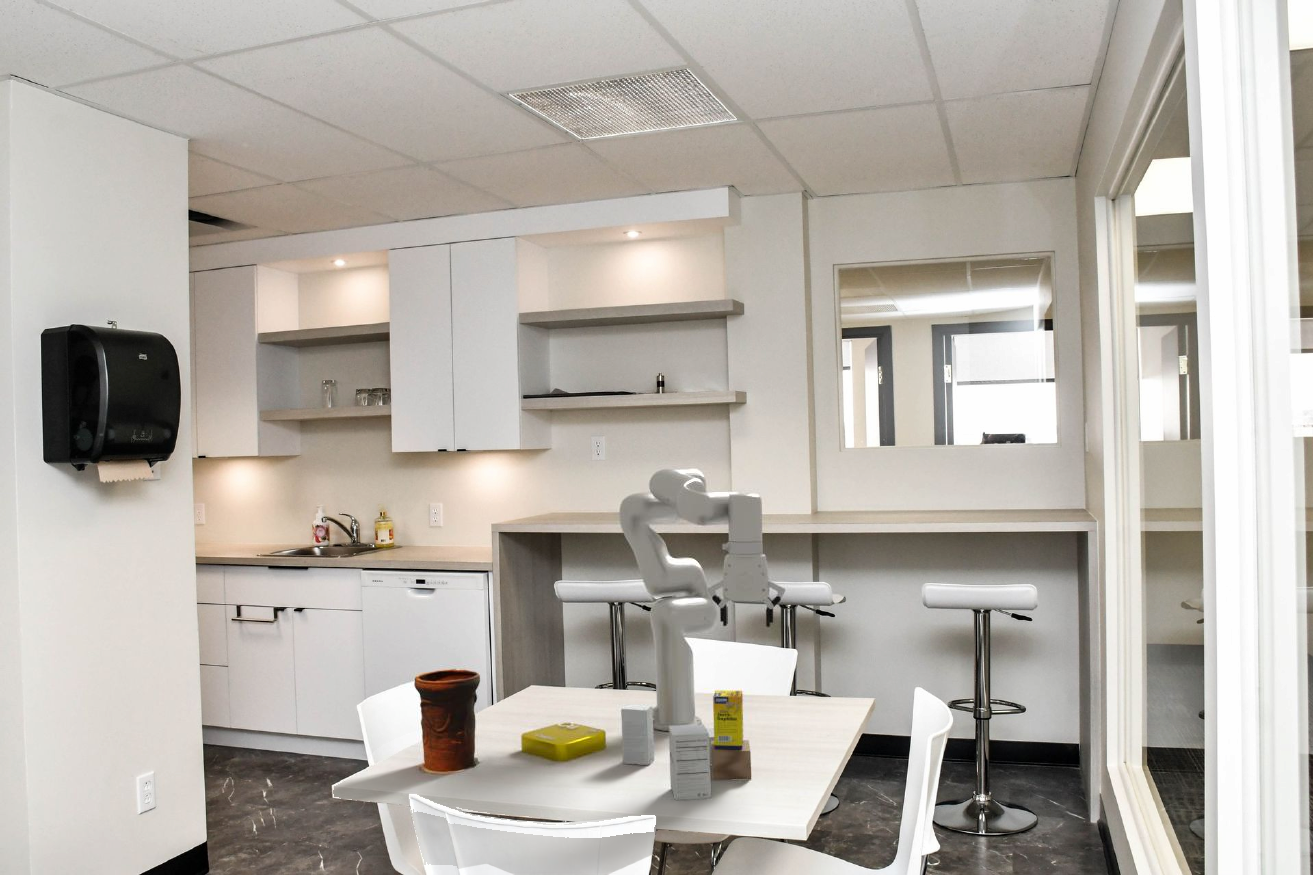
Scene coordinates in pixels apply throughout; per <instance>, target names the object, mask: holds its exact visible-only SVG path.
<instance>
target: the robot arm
mask: <svg viewBox="0 0 1313 875" xmlns="http://www.w3.org/2000/svg"><path fill="white" fill-rule="evenodd" d="M648 483H649V484H648V487H649V491H647V492H637V493H633V494H629V495H628V496H626V497H625V498H623V500H621V503H620V506H619V512H618V513H619V516H618V517H619V523H620V526H621V530H622V533H623V535H624V537H625V539H626V541H627V542H628V544H629V546H630V548H631V550H632V552H633V554H634V557H635V560H636V562H637V566H638V569H639V572H640V576H641V578H642V582H643V584H644V586H645V590H646V591H647V593H649V595H650V596H653V597H656V598H661V597H662V598H663V599H660V600H658V601H657V602H655V603H654V604H653V605H652V607H651V609H650V612H649V621H650V626H651V632H652V636H653V644H654V656H655V657H654V659H655V662H654V663H655V686H656V687H655V688H656V689H655V690H656V692H655V693H656V694H655V695H656V706H655V707H654V706H652V714H653V729H655V730H658V731H664V732H669V726H677V725H693V724H702V723H703V722H702V719H701V718H700V717H699V716H696V707H695V706H696V702H695V675H694V674H695V673H694V672H695V670H694V653H693V649H692V648H691V646H690V644H689V643H688V641H687V640H686V637H685V636H688V635H689V636H690V635H694V634H695V635H696V634H702V633H707V632H710V631H712V630H714V628H715V627H716V626H717V623H718V618H719V617H720V619H719V621H720V622H721V623H722V626H723V627H726V626H728V624H729V614H728V613H729V609H728V606H727V603H728V602H730V601H734V602H739V601H740V602H742V601H743V602H763V603H764V605H766V609H765V627H767V628H770V627H771V625H772V624H771V623H774V608H775V606H777V605H778V604H779V603H780V602H781V600H782V598H783V596H784V594H785V592H786V588H785V587H784V586H782V585H780V584H778V583H776V582H774V581H772V580H770V578H769V577H770V576H769V567H768V560H767V556H766V554H765V553H764V554H763V551H764V550H763V549H764V548H763V505H762V504H763V503H762V498H761V496H760V495H759V494H757V493H744V492H742V491H736V490H735V491H734V490H733V491H729V490H728V491H709V492H707V482H706V477H705V476H704V474H703V473H702V472H701V471H700V470H699V469H697V468H692V467H686V468H685V467H681V468H677V467H676V468H664V469H660V470H658V471H656V472H655V473H654V474H652V475H651V477H650V480H649V482H648ZM681 521H687V522H689V523H692V524H694V525H696V526H706V527H707V526H715V525H716V526H718V525H720V526H721V525H728V541H727V542H725V543H722V545H721V547H722V550H725V551H727V552H728V554H726V555H725V556H724V561H723V562H724V563H723V569H722V570H723V573H722V577H723V578H722V580H720V581H718V582H716V583H715V584H712V585H711V586H710V585H709V583H708V580H707V577H706V574H705V572H704V568H702V565H701V564H700V563H699V562H698V561H697V560H696V559H694V558H692V557H672V556H671V555H670V553H669V551H668V548H667V545H666V542H665V541H664V539H663V538H662V537H661V536H660V534H659V533H658V532H656V531H655V530H654V529H652V527H651V525H653V526H654V525H665V524H666V525H667V524H676V523H680V522H681ZM721 588H722V596H723V598H721V597H720V596H719V595H718V594H717V591H718V590H719V589H721ZM770 589H772V590H774V591H776V592H777V594H776V596H775V597H774V598H773V599H772V598H771V597H770V596H769V595H770ZM716 590H717V591H716ZM674 596H675V597H674ZM664 597H666V598H664ZM667 597H668V598H667ZM717 606H718V608H719V610H720V611H719V612H720V613H719V616H718V608H717Z"/></svg>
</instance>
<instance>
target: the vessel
mask: <svg viewBox="0 0 1313 875" xmlns="http://www.w3.org/2000/svg"><path fill="white" fill-rule="evenodd" d="M480 682H481V674H480V673H478V672H477V671H472V670H467V669H458V668H457V669H456V668H449V669H442V670H435V671H427V672H423V673H419V674H418V675H416V676H415V677H414V683H413V684H414V685H413V686H414V688H415V690H416V691H417V692H418V694H419V699H420V703H419V707H420V714H421V720H420V725H421V731H422V733H421V735H422V736H421V739H422V749H423V762H422V763H420V764H419V769H421V772H424V773H429V774H434V775H435V774H436V775H437V774H439V775H449V774H450V775H451V774H453V773H459V772H463V771H467V770H468V769H471V768H472V769H473V768H475V767H476V766H478V765H479V764H481V761H479V758H478V757H475V753H476V714H475V705H476V703H477V700H478V695H477V689H478V687H479V686H480Z"/></svg>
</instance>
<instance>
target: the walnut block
mask: <svg viewBox="0 0 1313 875" xmlns="http://www.w3.org/2000/svg"><path fill="white" fill-rule="evenodd" d="M711 756H712V765H711V777H712V778H711V780H712V781H731V780H732V779H737V781H739V780H738V779H746V780H752V760H751V759H752V758H751V756H752V755H751V746H750V742H749V739H746V740H744V739H743V744H742V749H715V748H714V741H711ZM732 781H733V780H732Z"/></svg>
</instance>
